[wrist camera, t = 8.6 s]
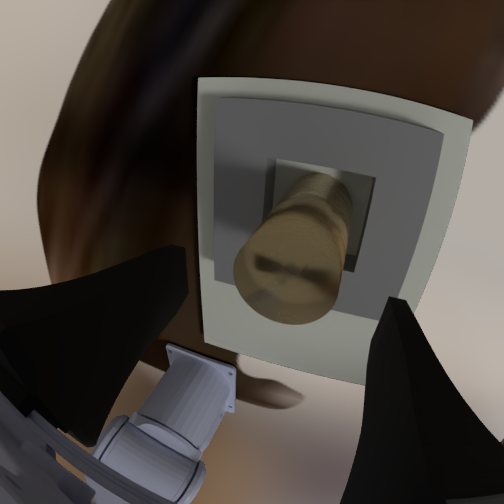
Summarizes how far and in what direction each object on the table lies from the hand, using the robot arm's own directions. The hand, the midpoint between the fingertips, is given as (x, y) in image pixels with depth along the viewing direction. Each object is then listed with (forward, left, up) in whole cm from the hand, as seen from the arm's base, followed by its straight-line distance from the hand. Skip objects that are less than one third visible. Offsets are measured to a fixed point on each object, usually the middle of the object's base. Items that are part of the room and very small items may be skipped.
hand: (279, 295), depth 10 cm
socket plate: (-4, 0, -10) cm, 10 cm away
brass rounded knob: (0, 0, -9) cm, 9 cm away
